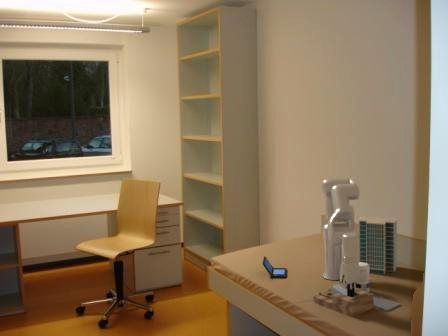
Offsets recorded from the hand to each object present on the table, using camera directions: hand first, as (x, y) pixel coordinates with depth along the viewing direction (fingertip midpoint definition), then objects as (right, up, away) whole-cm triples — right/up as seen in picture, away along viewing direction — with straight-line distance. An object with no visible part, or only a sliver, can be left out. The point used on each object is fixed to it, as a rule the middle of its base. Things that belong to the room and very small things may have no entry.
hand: (350, 296), depth 233 cm
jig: (-3, -6, +5) cm, 8 cm away
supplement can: (+11, -3, +21) cm, 24 cm away
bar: (-3, -2, +5) cm, 6 cm away
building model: (+30, +1, +55) cm, 63 cm away
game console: (-31, -2, +55) cm, 63 cm away
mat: (+15, -5, +6) cm, 17 cm away
